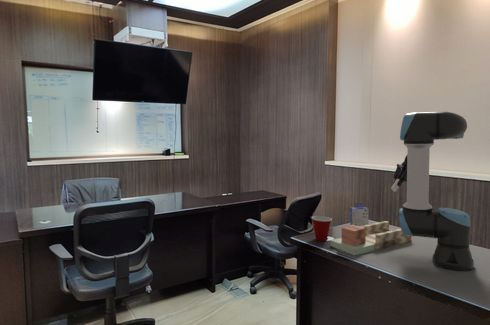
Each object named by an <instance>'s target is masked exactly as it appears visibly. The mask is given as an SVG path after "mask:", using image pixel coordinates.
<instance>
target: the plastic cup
mask: <svg viewBox="0 0 490 325" xmlns="http://www.w3.org/2000/svg"><path fill="white" fill-rule="evenodd" d="M311 219H312V225H313V230H314V236H315V240H316V241H318V242H325V241H327V240H328V236H329V233H330V232H329V231H330V226H331V222H332V221H333V218H331V217H330V216H329V217H328V216H325V215H324V216H323V215H312V216H311Z"/></svg>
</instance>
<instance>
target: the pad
mask: <svg viewBox="0 0 490 325" xmlns="http://www.w3.org/2000/svg"><path fill="white" fill-rule="evenodd" d="M330 246H331V247H333V248H335V249H338V250H339V249H340V251H343V252H344V251H345V253H346V254H349V253H350V255H352V256H354V257H355V256H360V255H361V254H362V255H363V254H367V253H369V252H375V250H374V244H372V243H369V242H366V243H365V244H361V245H358V246H351V245H348V244H345V243H342V237H339V238H335V239H330Z"/></svg>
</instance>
